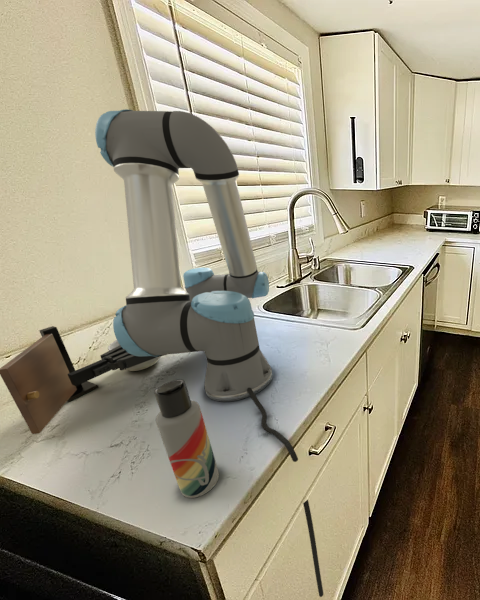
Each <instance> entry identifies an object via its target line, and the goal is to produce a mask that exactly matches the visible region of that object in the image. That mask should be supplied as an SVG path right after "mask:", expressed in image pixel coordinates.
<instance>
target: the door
mask: <svg viewBox="0 0 480 600" xmlns="http://www.w3.org/2000/svg"><path fill="white" fill-rule="evenodd" d="M68 374H69V370H68V368H67V366H66V364H65V361H64V359H63V357H62V355H61V353H60V350H59V348H58V346H57V344H56V341H55V339H54V337H53V335H52V334H46V335H44V336H43V337H42V336H41V337H40V338H39V339H37V340H36V341H35V342H33V343H32V344H31V345H29V346H28V347H27V348H25V349H24V350H22V351H21V352H20V353H19V354H17V355H15V357H13V358H11V360H9V361H8V362H6V363H5V364H3V365H2V366H1V367H0V377H1V379H2V380H3V383H4V385H5V387H6V388H7V390H8V392H9V394H10V396H11V398H12V399H13V402H14V403H15V405H16V407H17V408H18V409H17V410H18V411H19V413H20V414H21V417H22V418H23V420H24V422H25V423H26V426H27V427H28V429H29V431H30V433H31V435H37V434H40V433H42V431H43V430H44V429H45V428H46V427H47V425H48V424H49V423H50V422H51V421H52V420H53V418H55V416H56V415H57V414H58V412H59V411H60V410H61V409H62V408H63V407H64V406H65V404H66V403H68V402H67V401H68V399H69V398H70V397H71V396H72V395H73V394H74V392H75V391H76V390H77V388H76V386H74V385H72V383H71V381H70V379H69V377H68Z"/></svg>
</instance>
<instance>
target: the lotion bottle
mask: <svg viewBox="0 0 480 600" xmlns="http://www.w3.org/2000/svg"><path fill="white" fill-rule="evenodd" d="M154 396H155V399H156V403H157V405H158V408H159V413H158V414H157V415H156V417H155V423H156V426H157V431H158V432H159V435H160V438H161V441H162V444H163V446H164V449H165V452H166V455H167V458H168V460H169V461H168V462H169V463H170V466H171V469H172V471H173V475H174V477H175V480H176V483H177V486H178V488H179V490H180V493H181V495H182V496H183V497H185V498H188V499H192V498H193V499H194V498H198V497H201V496H203V495H205V494H207V493H208V492H209V491H211V490H212V489H213V488H214V487H215V486H216V484H217V483H218V481H219V478H220V476H219V475H220V474H219V469H218V465H217V462H216V458H215V454H214V452H213V448H212V445H211V440H210V438H209V434H208V430H207V426H206V424H205V420H204V417H203V413H202V410H201V406H200V404H199V403H198V402H197V401H195V400H191V397H190V393H189V391H188V388H187V385H186V382H185V380H184V379H174V380H172V381H169V382H167V383H164V384H162V385H160V386H159V387H157V388H156V389H155V390H154Z"/></svg>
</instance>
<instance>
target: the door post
mask: <svg viewBox="0 0 480 600" xmlns="http://www.w3.org/2000/svg"><path fill="white" fill-rule="evenodd" d="M38 331H39V333H40V336H41V337H43V336H44V335H46V334H52V335H53V337H54V339H55V341H56V344H57V346H58V348H59V350H60V353H61V355H62V357H63V359H64V361H65V364H66V366H67V368H68V370H69V373H71V372H73V371H76V369H75V366H74V363H73V362H72V359H71V356H70V355H69V353H68V350H67V347H66V346H65V343H64V341H63V339H62V337H61V334H60V332H59V330H58V327H57V326H53V325H52V326H49V327H45V328H42V329H39V330H38ZM76 388H77V390H76V391H75V392H74V394H73V395H72V396H71V397H70V398H69V399H68V401H67V402H66V403H70V402H71V401H74V400H75V399H78V398H79V397H81V396H84V395H86V394H87V393H90V392H93V391H94V390H97V389H98V388H99V385H98V384H97V383H93V382H91V381H86V382H84V383H82V384H80V385H78V386H76Z"/></svg>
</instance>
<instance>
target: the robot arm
mask: <svg viewBox="0 0 480 600" xmlns="http://www.w3.org/2000/svg"><path fill="white" fill-rule="evenodd" d="M94 129H95V130H94V135H95V141H96V145H97V148H98V149H100V152H99V153H100V155H101V157H102V159H103V160H104V161H105V162H106V163H107V164H108V165H109V166H111V167H112V168H113V171H114V173H115V174H116V175H117V176H118V177H120V178H121V179H122V180H123V187H124V194H125V195H124V197H125V206H126V217H127V218H126V219H127V229H128V239H129V250H130V260H131V262H130V263H131V271H132V272H131V273H132V283H133V289H132V291H131V292H130V293H129V294H127V295H126V296H125V304H126V305H124V306H122V307H120V308H118V310H117V311H116V312H115V316H114V317H113V319H112V320H113V321H112V326H113V327H112V329H113V333H114V337H115V339H116V340H117V341H118V343H119V344H120V346H118V347H116V348H114V349H112V350H110V351H109V350H108V351H106V352H104V353H102V354H100V356H99V357H100V360H97V361H95V362H93V363H90V364H88V365H85V366H83V367H80V368H78V369H75V371H73V372H71V373H69V374H68V377H69V379H70V381H71V383H72V385H74V386H78V385H80V384H82V383H84V382H86V381H88V382H90V381H91V380H93V379H95V378H97V377H100V376H102V375H104V374H105V373H108V372H110V371H116V370H118V369H119V371H126V370H125V369H127V368H130V367H133V366H135V365H138V364H141V363H143V362H146V361H149V360H151V359H154V358H157V357H160V356H161V357H164V356H168V355H177V354H187V353H195V352H204V355H205V359H206V369H205V378H204V382H203V383H204V390H205V395H206V396H207V397H208V398H209V399H210V400H213V401H217V402H235V401H239V400H244V399H247V398H251V400H252V401H253V403H254V404H255V406H256V408H257V409H258V411H259V412H260V414H261V422H260V424H261V428H262V430H263V431H264V432H266V433H268V434H270V435H271V436H274V437H275V438H276V439H277V440H278V441H279V442H281V444H283V446H284V447H285V448H286V450H287V452H288V453H289V454H288V455H289V456H290V458H291V461H292V462H294V463H296V462H298V460H299V458H298V454H297V453H296V450H295V449H294V447H293V445H292V444H291V442H290V441H289V440H288V439H287V438H286V437H285V436H284V435H283V434H282V433H280V432H279V431H277V430H276V429H274V428H271V427H269V426H268V424H267V420H268V419H267V418H268V415H267V411H266V409H265V407H264V406H263V404H262V403H261V402H260V400H259V398H258V397H257V396H256V395H257V394H258V393H259V392H261V391H262V390H265V388H266V387H268V385H269V384H270V383H271V381H272V379H273V370H272V367H271V365H270V363H269V361H268V360H267V358H266V356H265V355H264V354H263V352H262V350H261V348H260V343H259V337H258V332H257V326H256V321H255V312H254V311H253V308H252V304H251V300H250V299H257V298H264V297H266V296H268V294H269V292H270V280H269V276H268V274H267V273H266V272H264V271H259V270H258V266H257V262H256V257H255V252H254V249H253V245H252V240H251V237H250V232H249V228H248V225H247V220H246V216H245V211H244V208H243V203H242V199H241V195H240V191H239V187H238V183H237V180H238V178H240V171H239V168H238V164H237V162H236V158H235V156H234V154H233V152H232V150H231V149H230V147H229V146H228V144H227V143H226V141H225V140H224V138H223V137H222V136H221V135H220V134H219V132H218V131H217V130H216V129H215V128H214V127H213V126H212V125H211V124H209V123H208V122H207V121H205V120H204V119H202V118H201V117H199V116H197V115H194V114H193V113H190V112H187V111H181V110H173V111H171V110H169V111H168V110H133V109H127V108H126V109H121V110H108V111H106V112H104V113H102V114H101V115H100V116H99V117H98V119H97V120H96V125H95V128H94ZM179 169H192V171H193V174H194V177H195V179H196V180H197V181H198V182H200V183H201V184H202V187H203V190H204V194H205V198H206V200H207V203H208V207H209V210H210V214H211V217H212V220H213V223H214V227H215V231H216V234H217V236H218V241H219V243H220V247H221V251H222V254H223V257H224V260H225V263H226V267H227V270H228V273H223V274H215V273H214V271H213V269H212V268H210V267H195V268H191V269H188V270H186V271H184V273H183V275H182V277H183V283H184V288H183V287H182V284H181V282H182V281H181V271H180V260H179V258H180V257H179V249H178V238H177V236H178V235H177V227H176V215H175V203H174V202H175V201H174V191H173V185H175V184H176V183H177V182H178V181H179V180H180V172H179V171H180V170H179ZM161 357H160V358H161ZM302 504H303V505H302V506H303V509H304V514H305V519H306V524H307V530H308V536H309V543H310V549H311V554H312V561H313V567H314V573H315V579H316V587H317V591H318V597H320V598H322V597H323V596H324V588H323V582H322V576H321V569H320V563H319V562H320V561H319V555H318V548H317V542H316V541H317V540H316V535H315V529H314V523H313V519H312V513H311V508H310V507H311V506H310V502H309V499H306V500H305V501H304V502H303V503H302Z"/></svg>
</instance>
